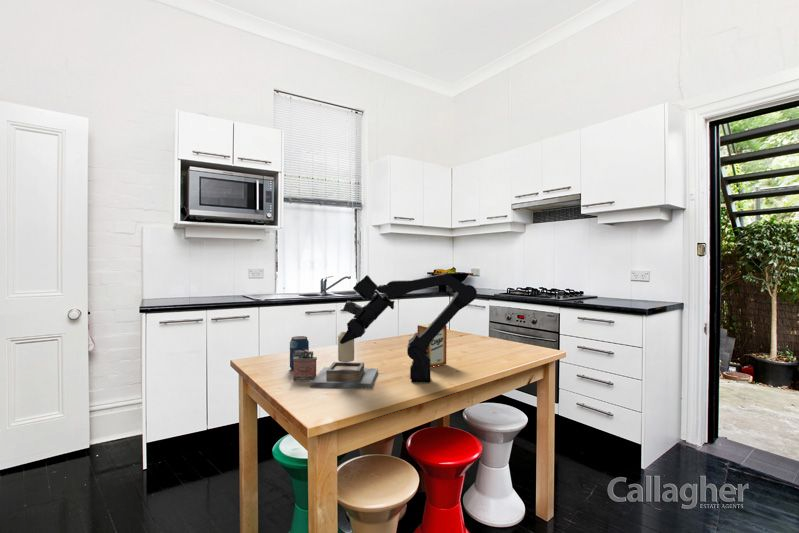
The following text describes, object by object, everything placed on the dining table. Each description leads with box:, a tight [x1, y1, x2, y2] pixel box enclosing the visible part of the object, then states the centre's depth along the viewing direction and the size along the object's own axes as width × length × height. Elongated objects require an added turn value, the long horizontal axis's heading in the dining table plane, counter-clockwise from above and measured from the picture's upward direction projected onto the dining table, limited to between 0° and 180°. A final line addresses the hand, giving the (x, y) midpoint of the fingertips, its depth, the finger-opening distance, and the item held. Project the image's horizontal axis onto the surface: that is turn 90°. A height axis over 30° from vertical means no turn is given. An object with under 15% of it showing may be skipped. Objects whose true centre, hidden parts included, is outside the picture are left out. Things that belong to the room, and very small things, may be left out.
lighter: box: [292, 350, 318, 381], centre depth 137 cm, size 8×3×10 cm, turn 92°
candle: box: [337, 331, 355, 362], centre depth 137 cm, size 6×6×10 cm
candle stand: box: [309, 361, 379, 389], centre depth 137 cm, size 20×18×4 cm
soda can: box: [289, 335, 310, 372], centre depth 149 cm, size 7×7×12 cm
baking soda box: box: [416, 323, 448, 368], centre depth 157 cm, size 10×6×16 cm
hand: (342, 341), depth 137 cm, fingers closed on candle, 5 cm apart
